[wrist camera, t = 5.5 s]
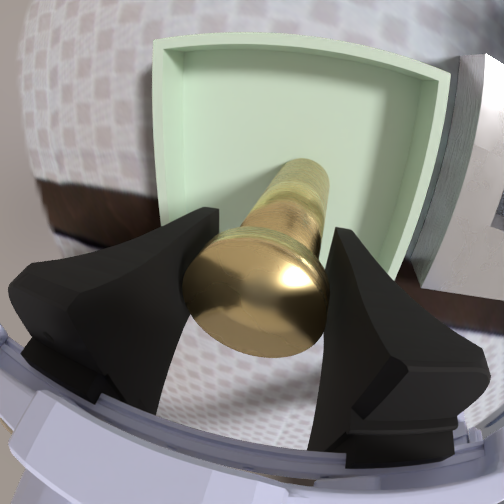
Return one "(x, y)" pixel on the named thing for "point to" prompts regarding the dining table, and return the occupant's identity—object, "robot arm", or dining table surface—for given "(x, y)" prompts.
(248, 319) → the pin
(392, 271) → the parts tray
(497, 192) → the pin bracket
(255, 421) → the dining table surface
